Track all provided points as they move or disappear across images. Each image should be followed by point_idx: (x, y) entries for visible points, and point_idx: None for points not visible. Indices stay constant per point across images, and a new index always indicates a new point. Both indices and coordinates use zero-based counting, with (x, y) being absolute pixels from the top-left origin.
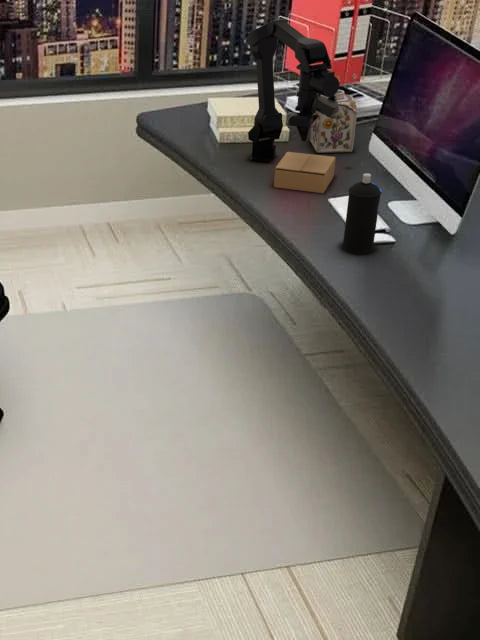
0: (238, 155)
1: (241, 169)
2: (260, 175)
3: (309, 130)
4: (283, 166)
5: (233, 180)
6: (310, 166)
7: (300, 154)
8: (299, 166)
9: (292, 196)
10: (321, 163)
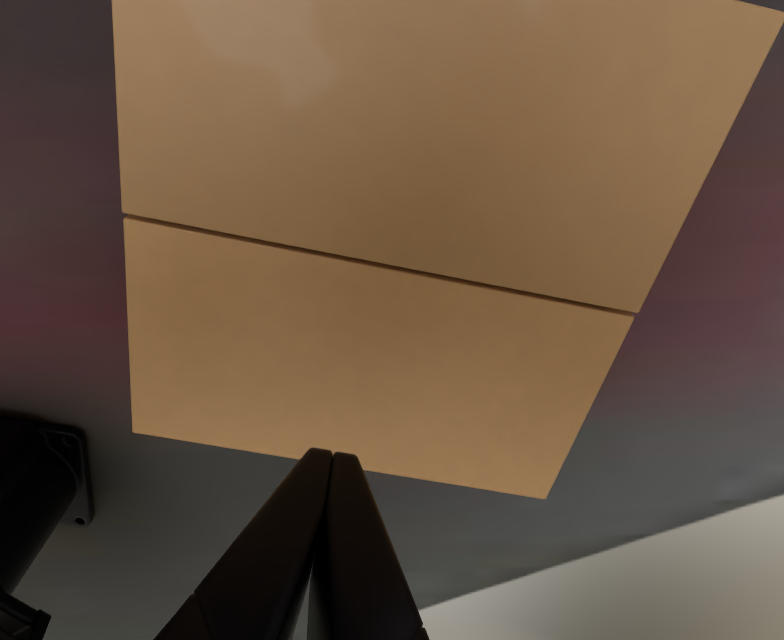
0: (37, 564)
1: None
2: None
3: (233, 577)
4: (526, 449)
5: (419, 566)
6: (530, 214)
7: (166, 324)
8: (523, 324)
9: (698, 269)
10: (420, 78)
